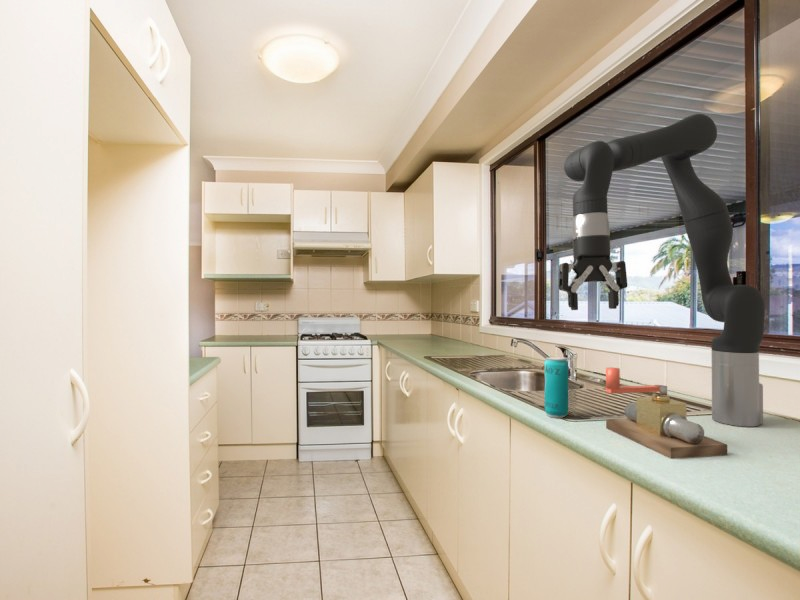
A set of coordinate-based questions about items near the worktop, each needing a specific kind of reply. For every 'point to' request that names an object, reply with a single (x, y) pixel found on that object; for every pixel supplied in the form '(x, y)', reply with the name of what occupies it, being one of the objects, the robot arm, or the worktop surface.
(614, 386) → the valve lever
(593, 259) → the robot arm
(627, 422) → the valve board
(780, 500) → the worktop surface
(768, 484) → the worktop surface
